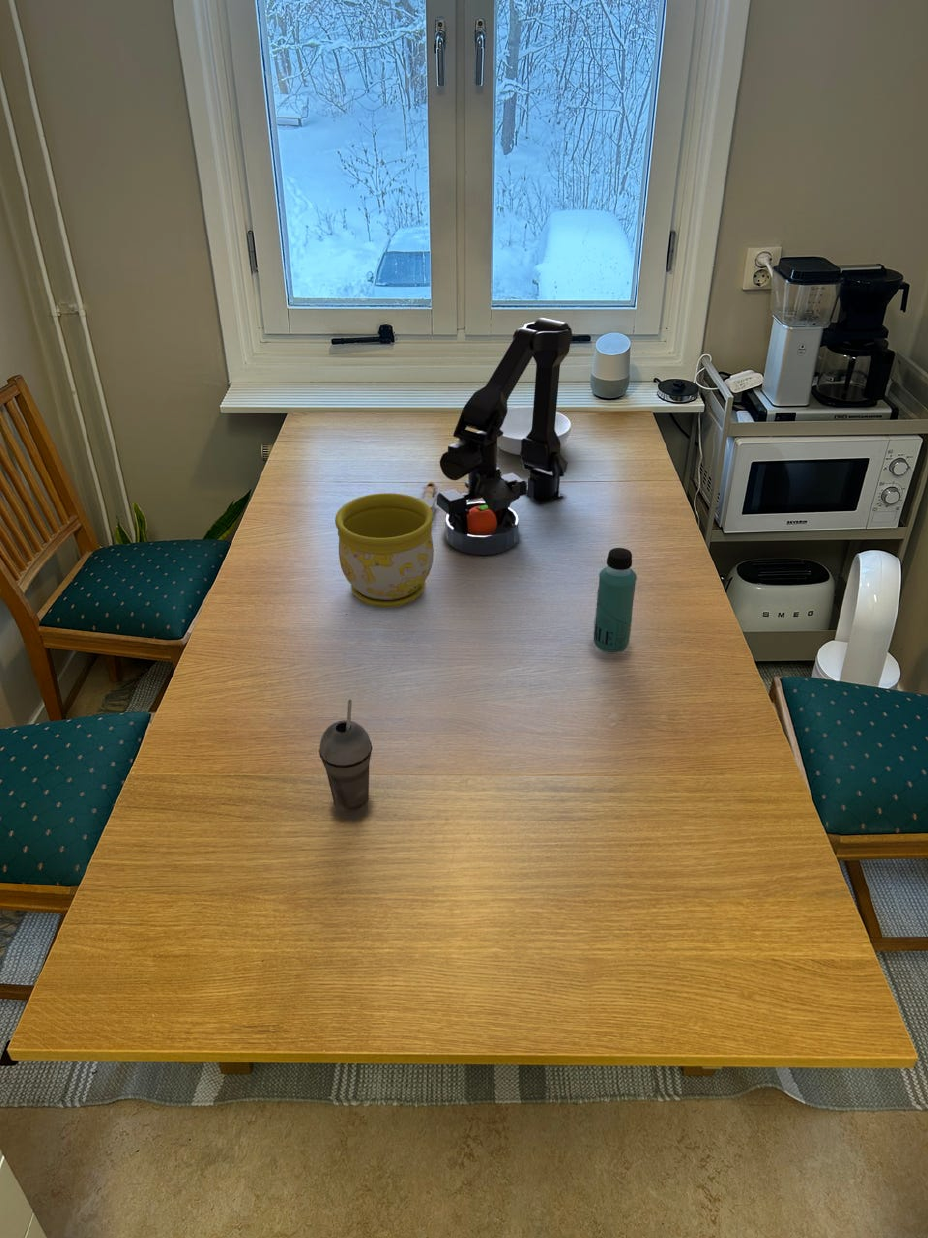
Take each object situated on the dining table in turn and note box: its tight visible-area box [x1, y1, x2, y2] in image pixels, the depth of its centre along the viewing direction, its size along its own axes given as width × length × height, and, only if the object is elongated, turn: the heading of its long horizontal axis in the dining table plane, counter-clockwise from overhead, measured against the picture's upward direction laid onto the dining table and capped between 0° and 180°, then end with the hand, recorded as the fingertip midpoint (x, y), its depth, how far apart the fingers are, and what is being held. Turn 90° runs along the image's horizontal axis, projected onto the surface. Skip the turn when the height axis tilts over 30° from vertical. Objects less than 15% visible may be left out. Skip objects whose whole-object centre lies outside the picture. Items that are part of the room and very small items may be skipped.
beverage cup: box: [318, 699, 373, 821], centre depth 126 cm, size 7×7×20 cm
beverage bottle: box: [592, 547, 638, 654], centre depth 156 cm, size 6×7×20 cm
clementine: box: [467, 505, 497, 536], centre depth 192 cm, size 8×7×7 cm
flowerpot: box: [334, 492, 435, 609], centre depth 173 cm, size 18×18×16 cm
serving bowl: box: [497, 406, 572, 456], centre depth 229 cm, size 21×21×7 cm
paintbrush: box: [417, 481, 436, 514], centre depth 204 cm, size 4×3×20 cm
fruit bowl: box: [444, 500, 520, 556], centre depth 193 cm, size 15×15×4 cm
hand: (481, 529), depth 193 cm, fingers open, 8 cm apart
